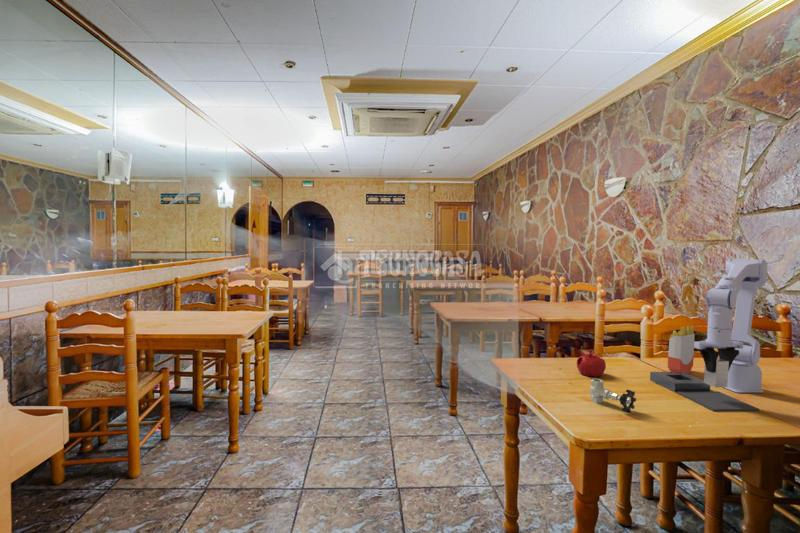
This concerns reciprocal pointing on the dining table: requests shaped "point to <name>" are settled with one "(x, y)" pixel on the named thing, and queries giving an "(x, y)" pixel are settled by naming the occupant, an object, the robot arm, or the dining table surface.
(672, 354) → the french fries container
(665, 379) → the socket block
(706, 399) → the rubber mat
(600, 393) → the valve
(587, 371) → the pomegranate
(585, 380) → the dining table surface
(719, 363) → the steel peg
